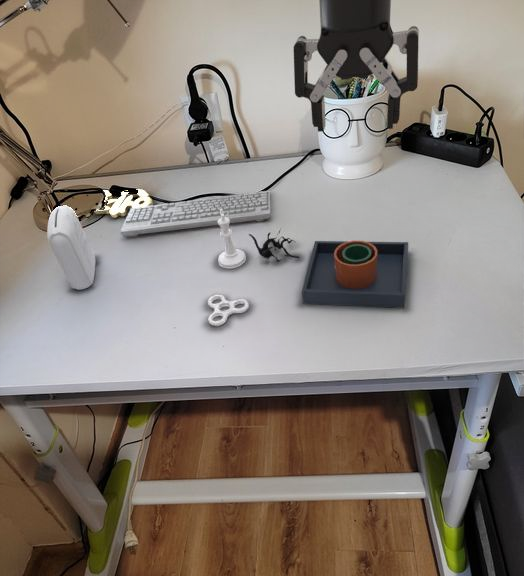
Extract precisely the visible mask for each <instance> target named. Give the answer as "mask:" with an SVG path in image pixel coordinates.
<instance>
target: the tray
mask: <svg viewBox="0 0 524 576" xmlns="http://www.w3.org/2000/svg"><path fill="white" fill-rule="evenodd" d="M345 242H349V241H348V240H347V241H346V240H345V241H344V240H343V241H342V240H314V243H313V246H312V251H311V254H310V258H309V263H308V266H307V269H306V273H305V276H304V281H303V284H302V288H301V298H302V304H304V305H307V304H308V305H324V306H325V305H328V306H347V307H348V306H350V307H353V306H354V307H371V308H373V307H374V308H391V309H392V308H395V309H405V304H406V289H407V270H408V252H409V241H368V242H369V243H371V244H372V245H374V246H375V247H376V249H377V251H378V255H377V277H376V280H375V281H374V282H373V283H372V284H371V285H370V286H368V287H365V288H361V289H349V288H345V287H343V286H341V285H339V284H338V283H337V281H336V279H335V269H334V252H335V249H336V248H337V247H338V246H339V245H341V244H343V243H345Z"/></svg>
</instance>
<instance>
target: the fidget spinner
mask: <svg viewBox="0 0 524 576" xmlns="http://www.w3.org/2000/svg"><path fill="white" fill-rule="evenodd" d="M215 300H221V301H220V302H218V303H213V302H214V301H215ZM240 304H241V305H244V306H242V307H240V308H236V306H237V305H240ZM207 305H208V306H209V307H210V308H212V309H213V310H214V311H213V312H211V313H210V315H209V316H208V318H207V319H208V323H209V324H210V325H211V326H214V327H219V326H221V325H224V324H225V323H226V322H227V320H228V317H229V316H230V315H232V314H242V313H245V312H246V311H248V310H249V306H250V304H249V302H248V300H246V299H243V298H238V299H235V300H228V299H226V297H225V296H224V295H222V294H214V295H212V296H210V297H209V298H208V300H207ZM224 307H227V308H228V309H225V310H221V309H222V308H224ZM217 317H222V318H221V319H219V320H214V319H215V318H217Z"/></svg>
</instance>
